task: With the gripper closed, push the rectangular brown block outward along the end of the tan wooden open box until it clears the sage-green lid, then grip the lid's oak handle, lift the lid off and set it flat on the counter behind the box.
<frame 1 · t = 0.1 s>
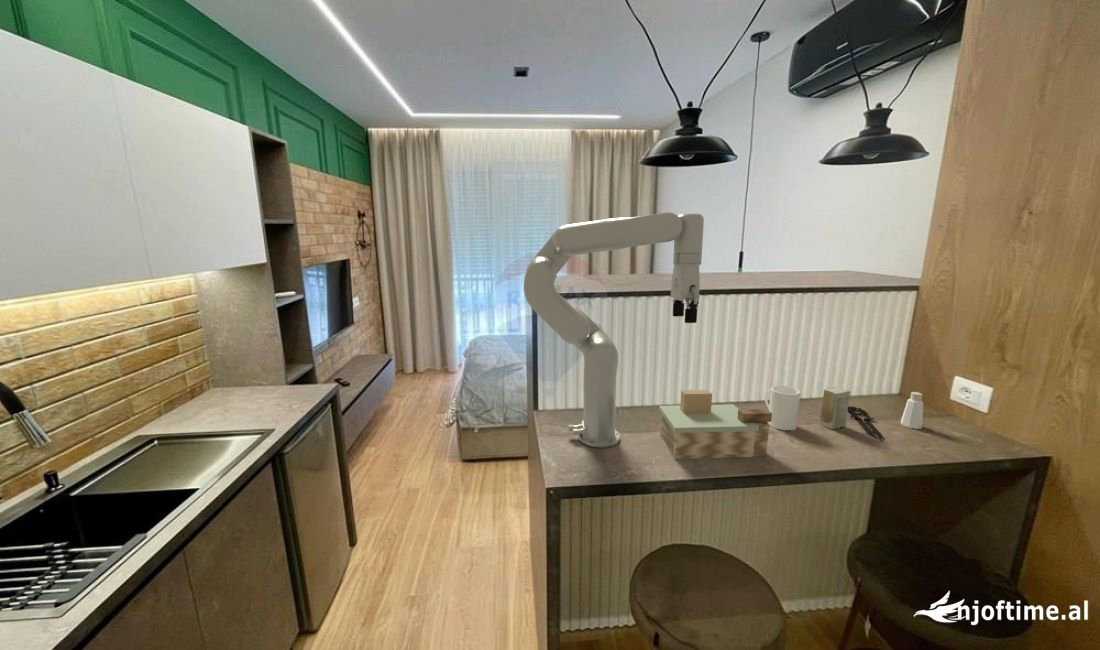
hand: (684, 319, 120), 37 cm above the counter, tool pointing down, fingers open, 9 cm apart
mug: (777, 423, 137), on the counter
skincare box: (832, 426, 134), on the counter
lid: (705, 420, 121), point 8 cm above the counter, touching tan wooden open box
rectangular brown block: (754, 415, 116), point 11 cm above the counter, slide at 0.0 cm
knife: (866, 425, 136), on the counter
tan wooden open box: (703, 445, 122), on the counter
pepper shaker: (910, 426, 134), on the counter
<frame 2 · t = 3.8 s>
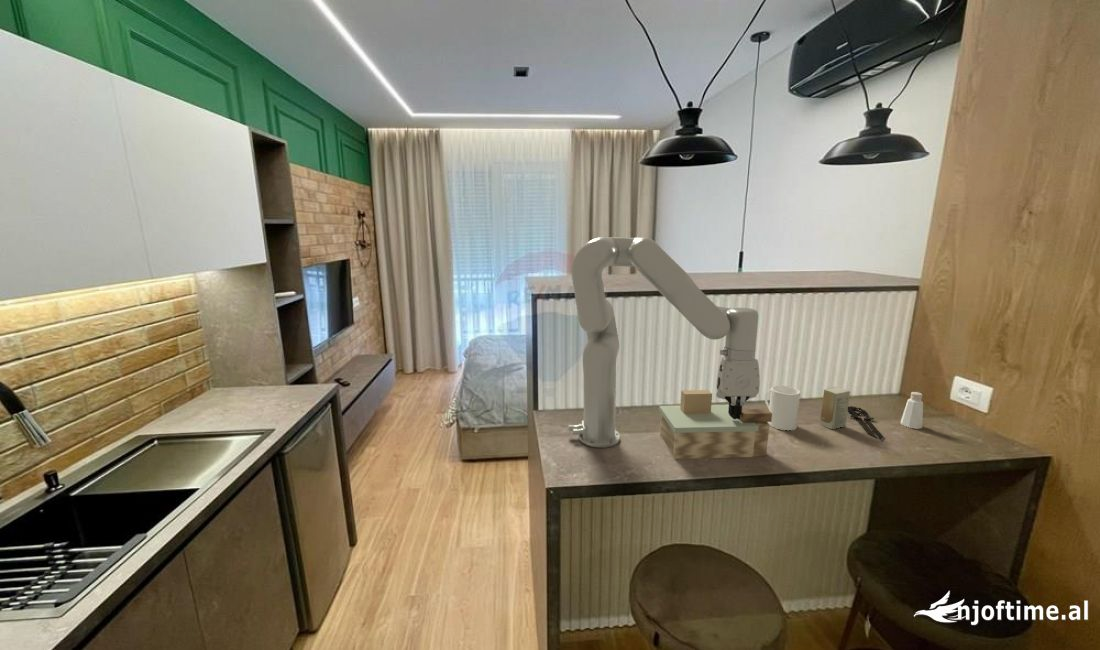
hand: (734, 417, 116), 11 cm above the counter, tool pointing down, fingers closed
rectangular brown block: (754, 415, 116), point 11 cm above the counter, slide at 0.1 cm, touching gripper
everything else where it was.
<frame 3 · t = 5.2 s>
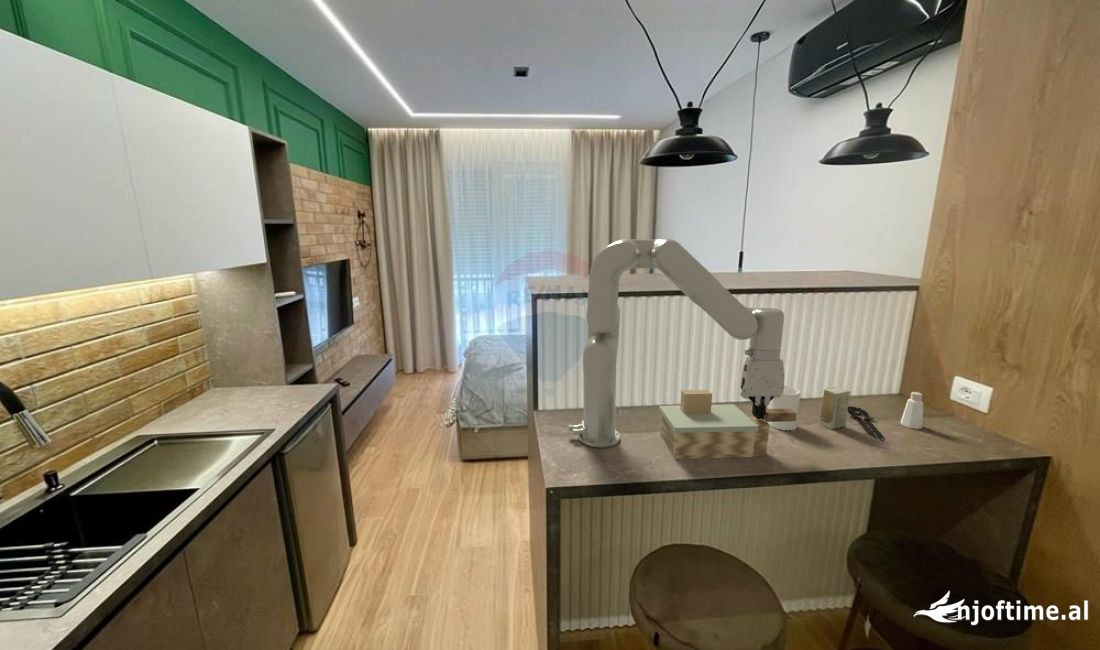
hand: (758, 417, 117), 10 cm above the counter, tool pointing down, fingers closed
rectangular brown block: (778, 415, 117), point 11 cm above the counter, slide at 6.8 cm, touching gripper
everything else where it was.
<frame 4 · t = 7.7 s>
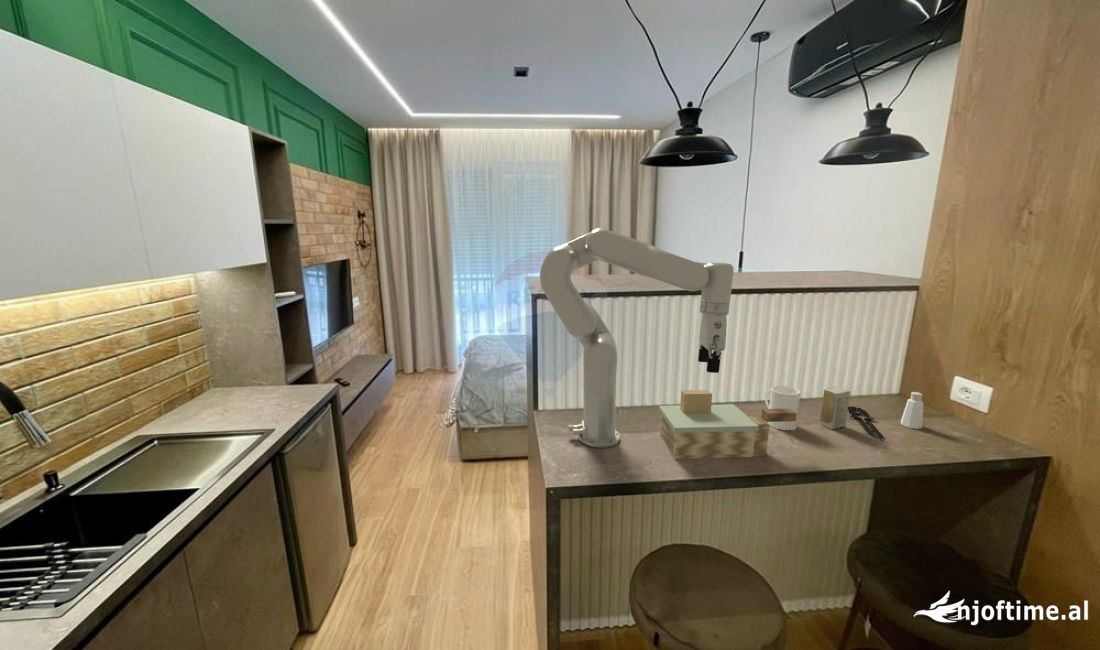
hand: (707, 366, 119), 24 cm above the counter, tool pointing down, fingers open, 9 cm apart
rectangular brown block: (778, 415, 117), point 11 cm above the counter, slide at 6.8 cm
everything else where it was.
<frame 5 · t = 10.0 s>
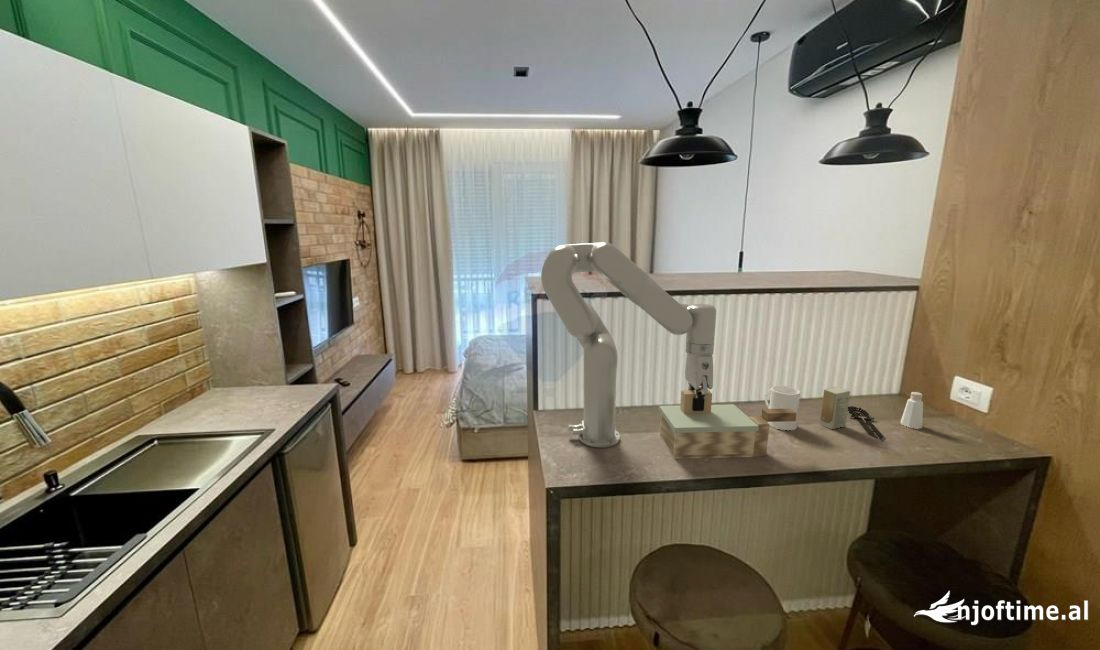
hand: (695, 407, 123), 11 cm above the counter, tool pointing down, fingers closed on lid, 3 cm apart
lid: (705, 420, 121), point 8 cm above the counter, touching gripper, tan wooden open box
everything else where it was.
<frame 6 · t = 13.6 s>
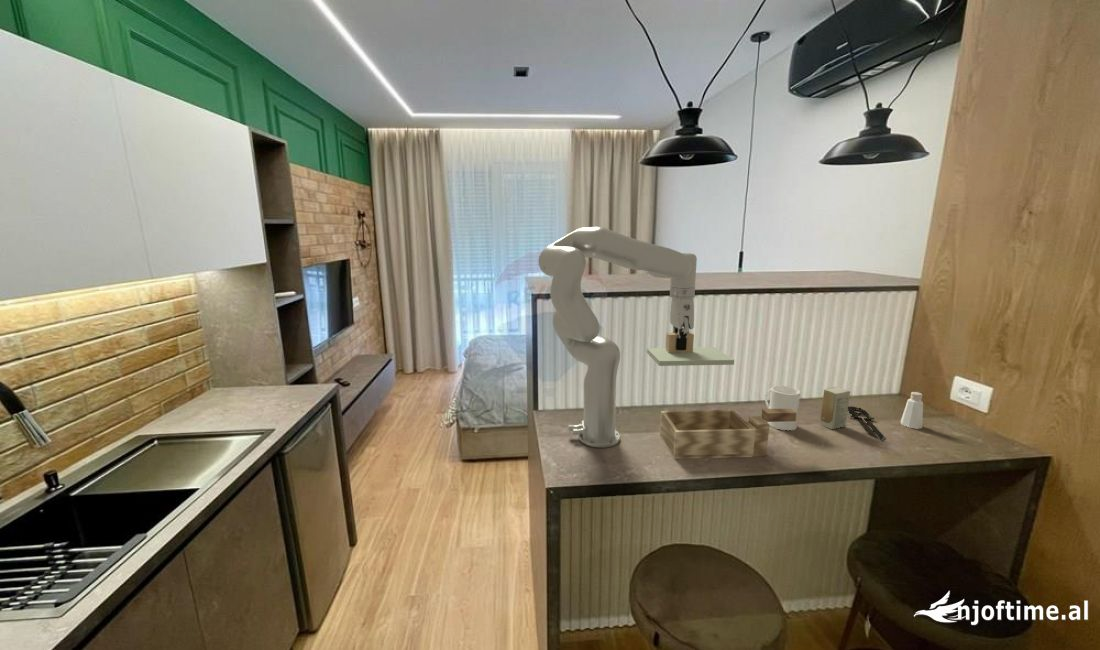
hand: (679, 347, 137), 24 cm above the counter, tool pointing down, fingers closed on lid, 3 cm apart
lid: (688, 358, 135), point 22 cm above the counter, touching gripper
everything else where it was.
when the fingers open (4 cm above the counter, at t = 17.4 s): lid drops 2 cm, on the counter.
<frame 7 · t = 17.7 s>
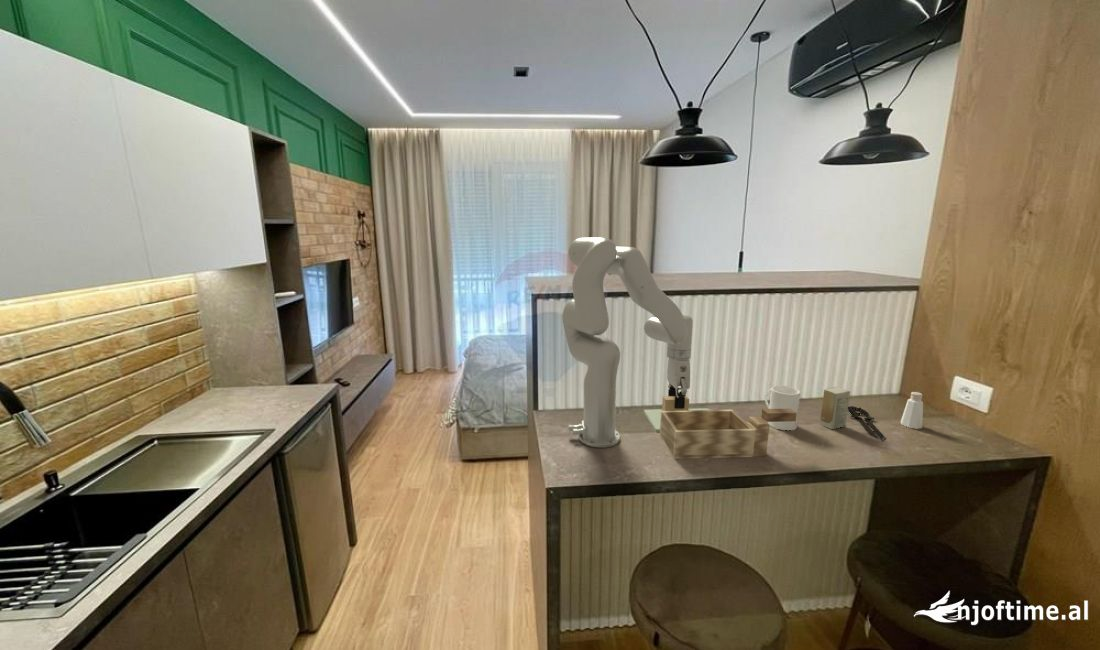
hand: (675, 403, 141), 5 cm above the counter, tool pointing down, fingers open, 6 cm apart
lid: (683, 422, 139), on the counter
everything else where it was.
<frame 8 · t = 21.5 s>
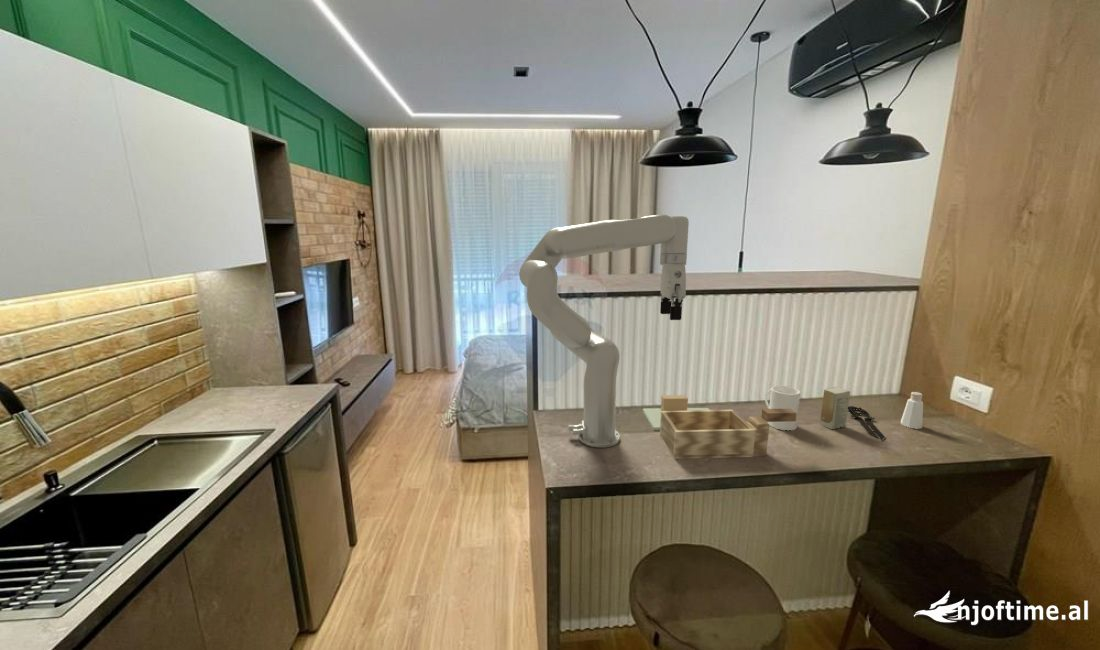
hand: (670, 316, 126), 36 cm above the counter, tool pointing down, fingers open, 9 cm apart
at the end: rectangular brown block slide at 6.8 cm; lid inside the target area (0.6 cm from its centre), on the counter; lid tilted 0° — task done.
